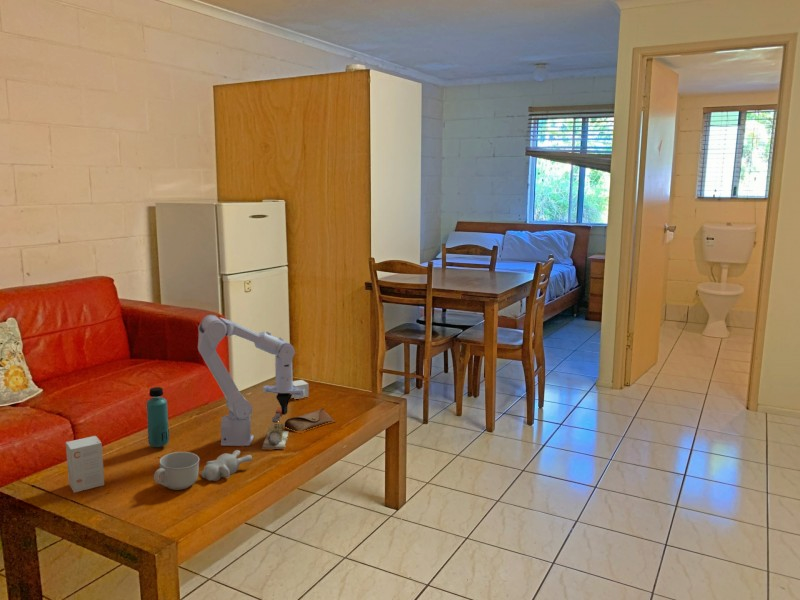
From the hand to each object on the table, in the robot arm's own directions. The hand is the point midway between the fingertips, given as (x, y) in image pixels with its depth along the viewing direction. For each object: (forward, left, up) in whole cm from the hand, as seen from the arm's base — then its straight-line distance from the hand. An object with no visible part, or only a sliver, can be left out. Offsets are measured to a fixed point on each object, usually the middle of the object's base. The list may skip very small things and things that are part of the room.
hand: (284, 413), depth 219 cm
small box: (-51, -38, -8) cm, 64 cm away
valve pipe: (-2, -7, -7) cm, 10 cm away
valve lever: (-2, -3, 0) cm, 3 cm away
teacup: (-26, -39, -8) cm, 47 cm away
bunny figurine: (-14, -30, -8) cm, 34 cm away
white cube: (+1, +38, -8) cm, 39 cm away
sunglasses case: (+8, +9, -8) cm, 14 cm away
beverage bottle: (-39, -12, -8) cm, 41 cm away
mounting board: (-2, -7, -7) cm, 10 cm away
